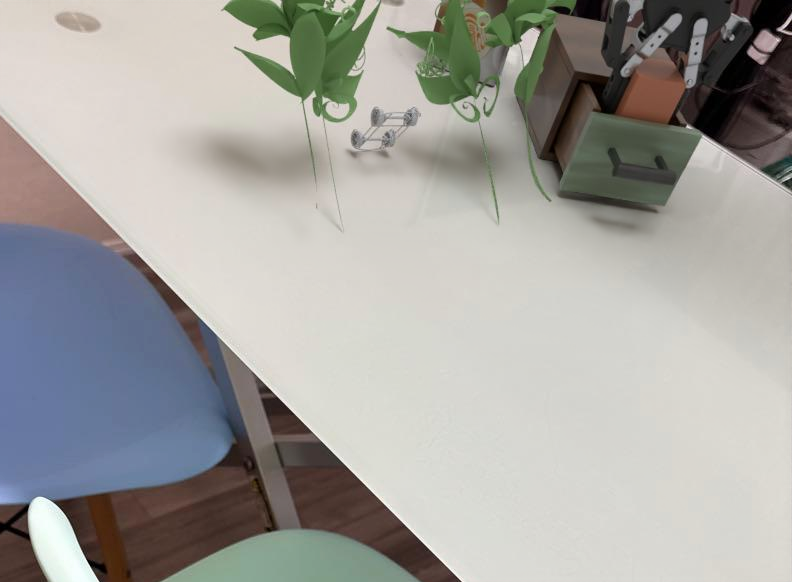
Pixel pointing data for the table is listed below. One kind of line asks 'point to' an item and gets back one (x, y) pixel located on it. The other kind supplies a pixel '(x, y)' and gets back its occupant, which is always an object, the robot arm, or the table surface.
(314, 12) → the plant cuttings
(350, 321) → the table surface
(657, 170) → the drawer
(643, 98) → the block
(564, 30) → the cabinet
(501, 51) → the coffee box
